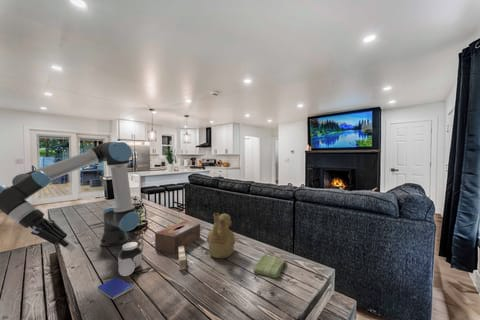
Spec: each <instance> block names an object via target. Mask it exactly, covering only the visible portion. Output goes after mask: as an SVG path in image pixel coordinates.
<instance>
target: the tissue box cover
mask: <svg viewBox="0 0 480 320" xmlns="http://www.w3.org/2000/svg"><path fill="white" fill-rule="evenodd" d="M154 235H155V236H154V245H155V247H154V249H155V250H157V251H158V250H159V251H163V252H165V253H170V254H176V253H177V252H178V247H180V246H184V248H185V247H188V246H189V245H190V244H192V243H194V242H195V241H197V240H199V239H200V238H201V223H199V222H192V221H185V220H182V221H179V222H177V223H175V224H173V225H171V226H168V227H166V228H163V229H161V230H159V231H157V232H155V233H154Z"/></svg>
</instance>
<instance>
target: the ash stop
mask: <svg viewBox="0 0 480 320" xmlns="http://www.w3.org/2000/svg"><path fill="white" fill-rule="evenodd" d="M177 252H178V268H179V271H183V270H186V269H187V267H186V266H187V262H186V261H187V258H186V251H185V247H184V246H180V247H178V251H177Z"/></svg>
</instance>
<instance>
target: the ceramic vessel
mask: <svg viewBox="0 0 480 320" xmlns="http://www.w3.org/2000/svg"><path fill="white" fill-rule="evenodd" d="M213 222H214V223H213V227H212V229H211V230H210V231H209V233H208V235H207V237H206V242H207V244H208V252H209V255H210V256H211V257H212V258H215V259H225V258H226V259H227V258H229V257H230V256H231V255H232V254H233V252H234V250H235V249H234V248H235V244H236V238H235V235H234V232H233V231H232V230H231V229H229V228H230V227H231V226H232V220H231V216H230V214H228V213H221V214H220V213H219V212H215V213H213Z"/></svg>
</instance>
